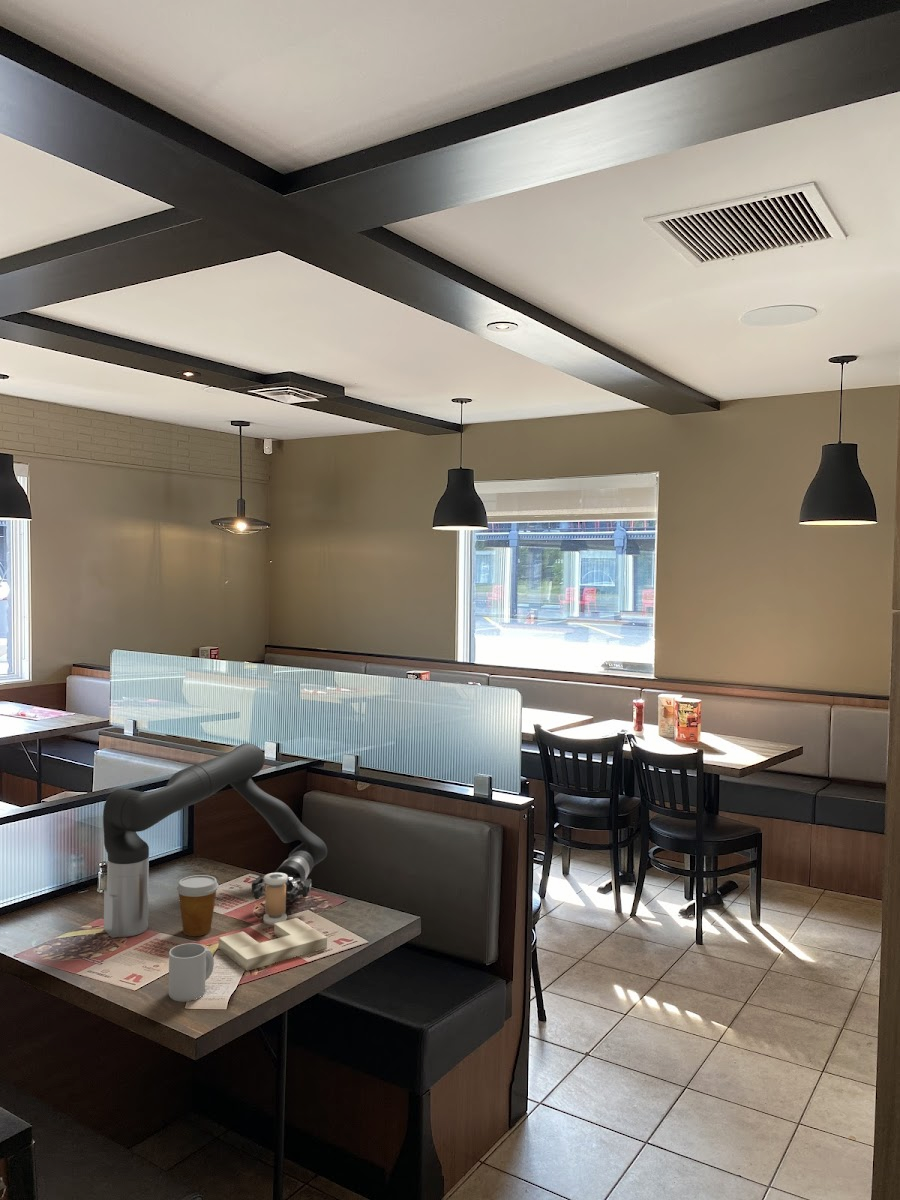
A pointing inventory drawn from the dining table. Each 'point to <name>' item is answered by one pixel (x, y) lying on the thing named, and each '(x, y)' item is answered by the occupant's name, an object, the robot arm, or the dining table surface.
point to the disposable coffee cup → (197, 903)
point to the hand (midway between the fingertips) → (273, 896)
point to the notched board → (273, 944)
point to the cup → (189, 971)
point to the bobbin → (275, 898)
